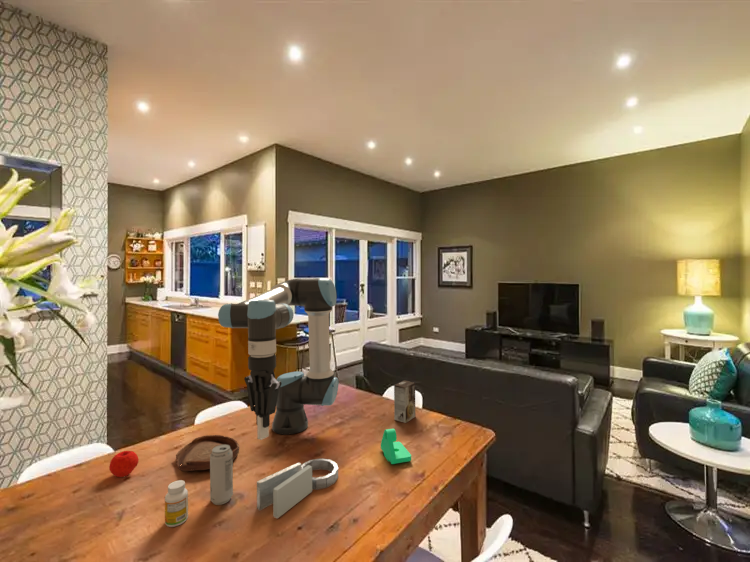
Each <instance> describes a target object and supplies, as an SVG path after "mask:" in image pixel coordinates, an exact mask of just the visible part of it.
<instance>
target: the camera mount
mask: <svg viewBox="0 0 750 562" xmlns="http://www.w3.org/2000/svg"><path fill="white" fill-rule="evenodd" d="M397 440H398V439H397V431H396V429H395V428H387V429H384V430H383V434H382V438H381V441H380V449H381V451H382V452H383V456H384V457H385V459H386V461H387V462H389V463H390V464H391V465H395V464H401V463H407V462H411V461H412V454H411V453H410V452H409V450H408V449H407V448H406V447H405V445H404V444H403V443H402V442H401V441H397Z"/></svg>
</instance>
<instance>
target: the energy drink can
mask: <svg viewBox="0 0 750 562" xmlns="http://www.w3.org/2000/svg"><path fill="white" fill-rule="evenodd" d="M233 461H234V460H233V452H232V450H231V449H230V446H229V445H226V444H224V445H219V446H216V447H214V448H213V449H212V453H211V455H210V469H209V477H210V478H209V479H210V482H209V486H210V487H209V489H210V490H209V493H210V494H209V499H210V502H212V504H213V505H216V506H221V505H225V504H226V503H228V502H230V501H231V498H232V497H233V495H234V492H233V491H234V489H233V488H234V485H233V484H234V479H233V475H234V474H233V473H234V472H233V468H234V467H233V466H234V465H233Z"/></svg>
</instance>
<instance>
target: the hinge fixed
mask: <svg viewBox="0 0 750 562" xmlns="http://www.w3.org/2000/svg"><path fill="white" fill-rule="evenodd" d="M308 465H310V466H312V471H317V470H324V471H325V470H326V471H329V473H328V474H326V475H324V476H319V477H314V476H312V490H322V489H327V488H329V487H331V486H332V485H335V483H336V482H337V480H338V479H339V467H338V463H336V462H335V461H334V460H332V459H329V458H314V459H309V460H308V461H305V462H304V463H301V462H296V463H293V464H292V465H289V466H288V467H285V468H283V469H280V470H278V471H277V472H274V473H272V474H270V475H268V476H265V477H264V478H261V479H259V480H257V481H256V509H257V510H258V511H262V510H264V509H265V508H267V507H269V506H271V505H273V489H274V488H275V487H277V486H278V485H280V484H281V483H283V482H284V481H286V480H287V479H289V478H290V477H291V476H293V475H294V474H296V473H297V472H299V471H300V470H302V469H303V468H305V467H306V466H308Z"/></svg>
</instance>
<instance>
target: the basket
mask: <svg viewBox="0 0 750 562" xmlns="http://www.w3.org/2000/svg"><path fill="white" fill-rule="evenodd" d="M224 444H226V445H229V446H230V449H231V450H232V452H233V461H234V460H235V459H236V457H237V456H238V454H239V451H240V445H239V442H237V440H235V439H234V438H232V437H229V436H224V435H220V434H209V435H208V434H206V435H202V436H198V437H196V438H193V440H192V441H191V442H189V443H187V444H186V445H185V446H184V447H182V448H181V449H180V450H178V452H177V453H176V455H175V459H176V460H175V463H176V467H177V468H178V469H179V470H180V471H181V472H190V471H206V470H210V455H211V453H212V449H213V448H214V447H216V446H219V445H224ZM181 464H182V465H181ZM180 465H181V466H180Z"/></svg>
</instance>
